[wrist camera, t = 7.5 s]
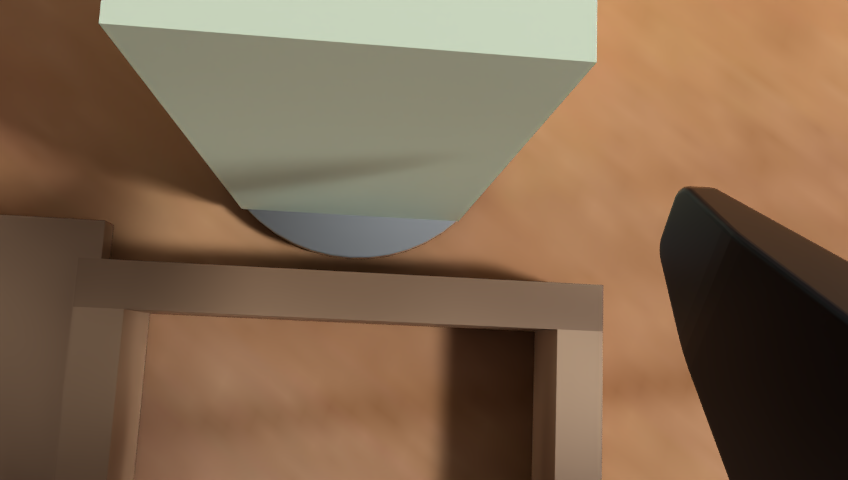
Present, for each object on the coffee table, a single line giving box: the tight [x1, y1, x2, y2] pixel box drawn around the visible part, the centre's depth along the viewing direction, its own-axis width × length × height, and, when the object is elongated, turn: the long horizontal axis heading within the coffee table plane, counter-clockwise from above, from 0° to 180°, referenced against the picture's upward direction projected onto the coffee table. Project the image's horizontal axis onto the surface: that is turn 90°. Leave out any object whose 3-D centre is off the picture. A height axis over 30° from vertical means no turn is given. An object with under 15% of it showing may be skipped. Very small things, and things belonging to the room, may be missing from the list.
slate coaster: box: [247, 209, 456, 259], centre depth 18 cm, size 7×7×1 cm
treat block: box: [99, 0, 597, 221], centre depth 13 cm, size 5×5×10 cm
